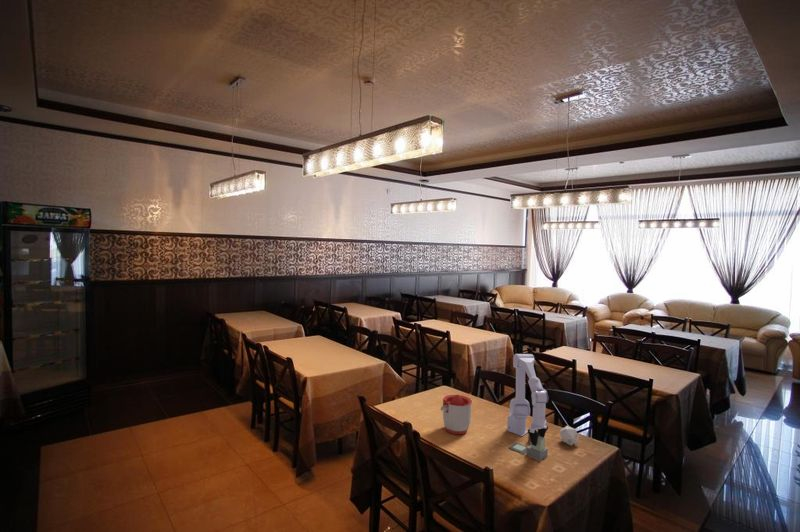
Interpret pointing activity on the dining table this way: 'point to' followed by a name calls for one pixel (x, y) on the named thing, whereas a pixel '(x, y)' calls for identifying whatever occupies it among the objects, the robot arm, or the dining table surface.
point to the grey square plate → (518, 448)
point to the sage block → (539, 444)
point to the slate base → (537, 453)
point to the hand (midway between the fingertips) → (537, 442)
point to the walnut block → (529, 437)
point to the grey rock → (569, 435)
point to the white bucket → (456, 413)
